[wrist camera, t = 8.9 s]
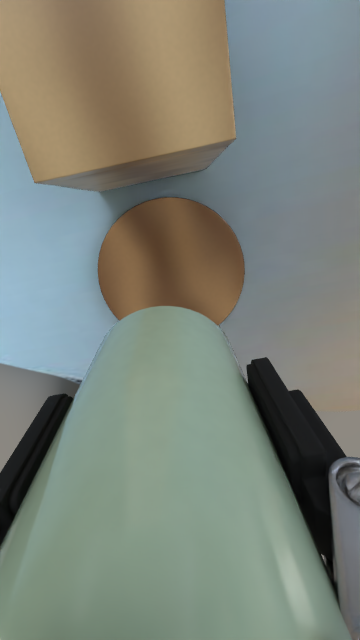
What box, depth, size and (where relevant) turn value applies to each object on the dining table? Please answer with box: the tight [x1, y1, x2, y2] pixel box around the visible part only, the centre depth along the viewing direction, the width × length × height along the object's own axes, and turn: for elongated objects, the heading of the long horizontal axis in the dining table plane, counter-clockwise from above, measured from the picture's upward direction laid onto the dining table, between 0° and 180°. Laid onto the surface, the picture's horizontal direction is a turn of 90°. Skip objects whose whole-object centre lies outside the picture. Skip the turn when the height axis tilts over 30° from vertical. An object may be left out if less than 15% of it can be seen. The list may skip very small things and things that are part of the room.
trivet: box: [98, 197, 245, 326], centre depth 27 cm, size 15×15×1 cm
